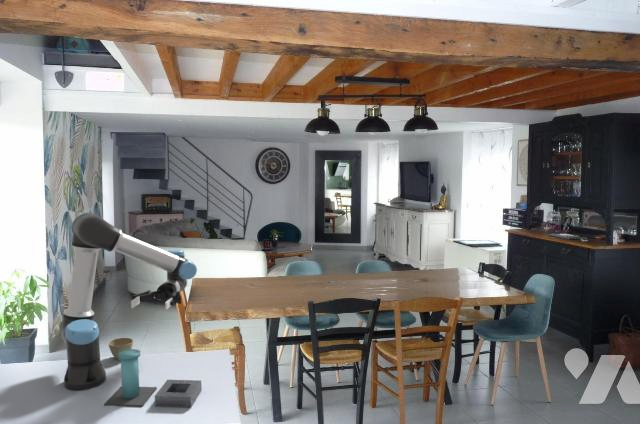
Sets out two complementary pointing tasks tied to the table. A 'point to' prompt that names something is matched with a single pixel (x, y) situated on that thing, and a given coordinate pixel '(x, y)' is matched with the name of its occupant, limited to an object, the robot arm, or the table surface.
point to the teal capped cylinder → (129, 373)
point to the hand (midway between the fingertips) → (149, 305)
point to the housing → (178, 393)
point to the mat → (137, 401)
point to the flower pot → (120, 346)
